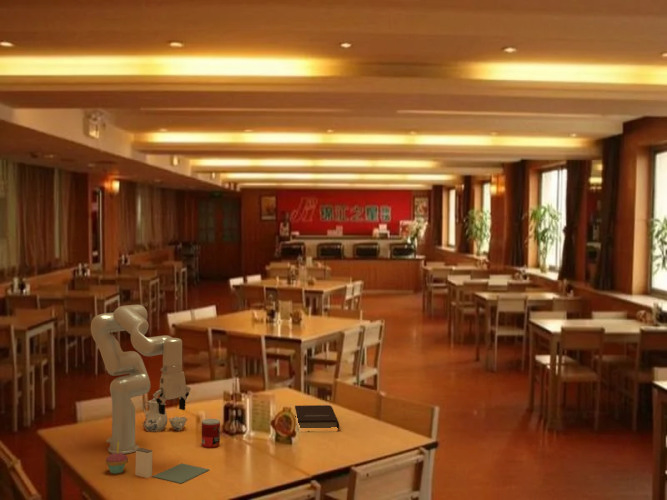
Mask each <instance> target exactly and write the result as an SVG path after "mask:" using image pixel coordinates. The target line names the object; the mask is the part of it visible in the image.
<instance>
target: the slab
mask: <svg viewBox="0 0 667 500" xmlns="http://www.w3.org/2000/svg"><path fill="white" fill-rule="evenodd" d="M135 476H137V477H142V478H145V479H149V478H151V477H153V450H152V449H148V448H143V447H139V449H136V451H135Z"/></svg>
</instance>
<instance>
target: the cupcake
mask: <svg viewBox="0 0 667 500" xmlns="http://www.w3.org/2000/svg"><path fill="white" fill-rule="evenodd" d="M127 463H129V457H128V456H127V455H126V454H122V453H119V440H118V442H117V453H114V454H113V453H110V454H109V455H107V457H106V459H105V463H104V464H105V465H106V466H107V467H108V469H109V470H108V471H109V472H110V474H115V475H116V474H121V473H123V471H124V469H125V466H126V464H127Z"/></svg>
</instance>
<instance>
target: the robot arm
mask: <svg viewBox="0 0 667 500" xmlns="http://www.w3.org/2000/svg"><path fill="white" fill-rule="evenodd" d="M149 325H150V324H149V322H148V311H147V309H146V308H145V307H144V306H143V305H142V304H131V305H122V306H118V307H117V308H116V309H115V310H114V311H113V312H105V313H101V314H98V315H96V316H94V317H93V318H92V320H91V322H90V333H91V336H92V338H93V341H94V342H95V344H96V346H97V347H98V350H99V352H100V354H101V358H102V360H103V364H104V366H105V369H106V371H107V373H108V375H110V376H115V377H116V376H118V377H116V378H114V379H113V380H112V381H111V382H110V385H109V393H110V397H111V398H110V399H111V411H112V412H111V415H112V416H111V418H112V419H111V421H112V422H111V425H112V426H111V436H108V439H106V443H108V444H110V445H109V446H108V447H107V451H108V453H110V454H114V453H117V442H118V440H119V453H122V454H125V455H126V454H132V453H134V452H135V453H136V449H139V448H140V446H139V445H138V444H137V443H136V405H135V404H134V402H133V400H131V399H132V398H136V397H140V396H144V395H146V394H148V393H149V392H150V389H151V380H150V379H151V378H150V377H149V374H148V371H147V368H146V366H145V362H144V360H143V358H142V356H145V357H154V356H159V355H160V356H161V355H162V367H160V372H162V373H161V375H160V379H159V389H158V390H156V391H155V392H154V393H153V395H152V396H153V398H154V399H155V401H156V402H157V403H158V404H159V414H162V415H164V414H165V410H166V405H165V404H164V403H166V401H167V400H174V399H178V401H179V402H178V405H179V406H178V409H179V410H181V411H185V410H186V401H187V399H188V396H190V393H191V390H192V388H191V387H190V386H187V384H186V377H185V372H184V371H183V340H182V339H181V338H178V337H172V336H170V335H167V334H166V335H158V336H150V337H147V336H145V334H147V332H148V330H149ZM124 331H126V332H127V333H128V334H130V343H131V345H132V347H133V348H134V349H135V350H136V351H133V350H129V351H123V349H122V347H121V345H120V342H119V341H118V340H117V339H116V337H114V336H113V335H112V334H111V333H116V332H124ZM140 354H141V355H142V356H141V355H140ZM122 375H123V376H122Z"/></svg>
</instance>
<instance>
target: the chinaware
mask: <svg viewBox="0 0 667 500" xmlns="http://www.w3.org/2000/svg"><path fill="white" fill-rule="evenodd" d="M145 404H148V405H147V406H149V407H148V410H146V409H145V406H146V405H145ZM164 404H165V406H166V405H167V403H166V402H165V403H164ZM142 410H143V413H144V414H145V415H144V417H145V419H144V421H143V422H142V424H143V425H142V426H143V427H144V428H145V431H147V432H150V433H157V432H162V431H164V430H165V427H166V426H167V425H168V422H169V423H170V426H171V427H172V428H173V429H174V431H175V430H176V432H178V431H179V432H180V431H182V429H183V428H184V426H185V425H186V422H187V421H188V418H187V417H186V416H181V417H180V416H174V417H171V418H168V415H167V410H166V409H165V414H164V415H162V414H159V404H158V403H157V402H156V401H155V399H154V397H153V398H152V399H150V400H147V401H144V402H143V403H142Z"/></svg>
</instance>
